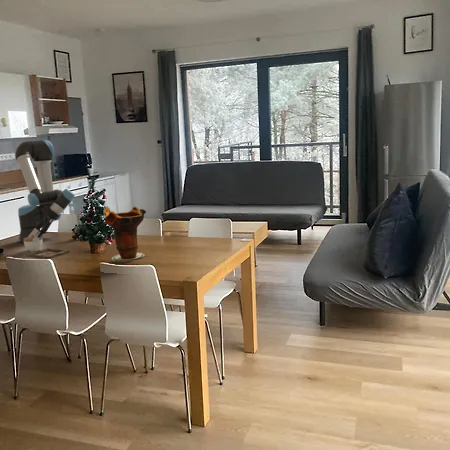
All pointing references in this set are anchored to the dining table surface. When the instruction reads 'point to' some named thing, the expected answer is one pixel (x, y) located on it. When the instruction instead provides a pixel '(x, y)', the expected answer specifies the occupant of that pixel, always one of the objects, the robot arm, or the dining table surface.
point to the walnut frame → (47, 253)
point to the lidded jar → (32, 244)
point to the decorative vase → (125, 232)
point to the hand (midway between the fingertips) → (31, 239)
